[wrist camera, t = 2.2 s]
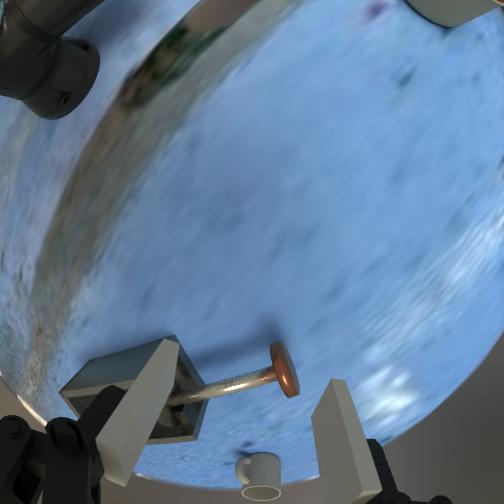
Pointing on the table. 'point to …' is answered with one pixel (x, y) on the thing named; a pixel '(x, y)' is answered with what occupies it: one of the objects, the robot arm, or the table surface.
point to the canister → (454, 10)
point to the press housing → (123, 376)
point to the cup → (259, 476)
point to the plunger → (236, 384)
